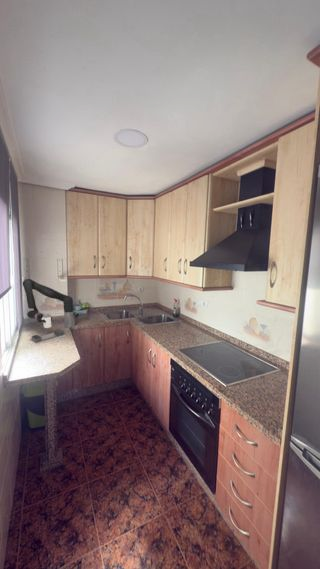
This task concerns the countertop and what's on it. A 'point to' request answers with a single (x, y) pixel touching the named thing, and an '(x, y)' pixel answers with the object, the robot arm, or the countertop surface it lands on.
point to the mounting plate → (47, 337)
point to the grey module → (47, 320)
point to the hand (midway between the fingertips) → (48, 320)
